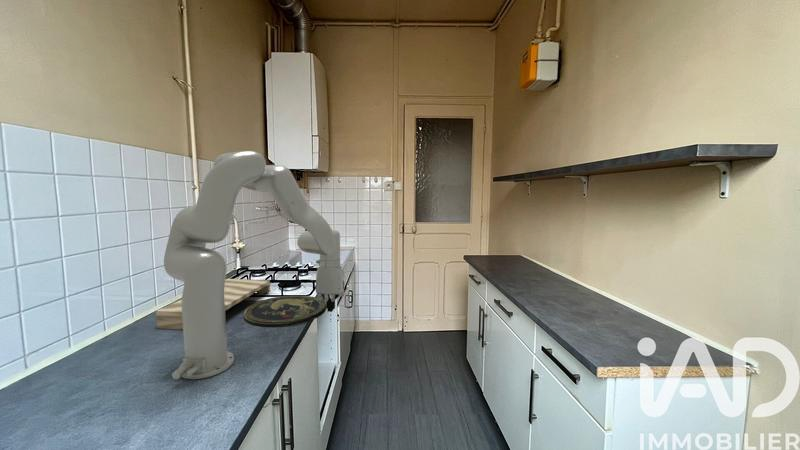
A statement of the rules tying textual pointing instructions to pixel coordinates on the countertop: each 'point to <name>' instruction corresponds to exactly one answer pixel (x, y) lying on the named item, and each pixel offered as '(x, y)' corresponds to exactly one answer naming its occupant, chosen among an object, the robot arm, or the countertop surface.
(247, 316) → the decorative plate
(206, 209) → the robot arm
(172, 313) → the low shelf
